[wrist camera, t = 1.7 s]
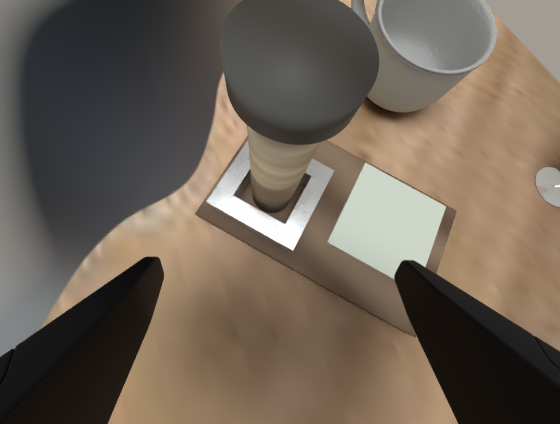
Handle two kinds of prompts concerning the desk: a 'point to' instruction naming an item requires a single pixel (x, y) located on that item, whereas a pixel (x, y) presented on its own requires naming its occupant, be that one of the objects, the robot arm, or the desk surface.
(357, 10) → the teacup
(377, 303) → the board
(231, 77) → the peg
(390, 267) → the coaster
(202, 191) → the desk surface
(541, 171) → the wineglass
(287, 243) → the collar
